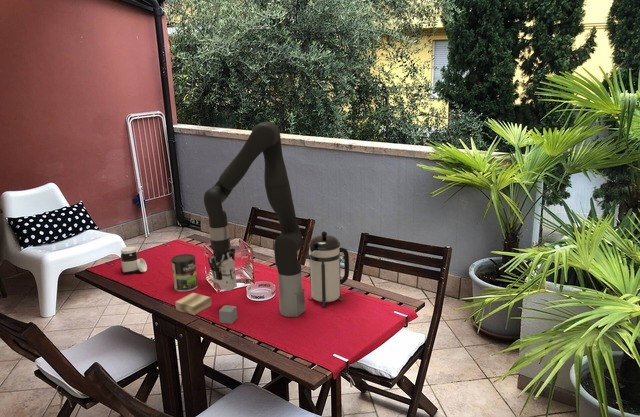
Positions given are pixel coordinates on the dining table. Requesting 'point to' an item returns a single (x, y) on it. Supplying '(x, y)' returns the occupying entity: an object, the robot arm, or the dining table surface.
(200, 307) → the beech block
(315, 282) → the coffee press
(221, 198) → the robot arm
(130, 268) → the spread jar
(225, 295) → the dining table surface
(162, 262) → the dining table surface
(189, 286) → the coffee can
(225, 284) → the ink box
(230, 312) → the slate cube
